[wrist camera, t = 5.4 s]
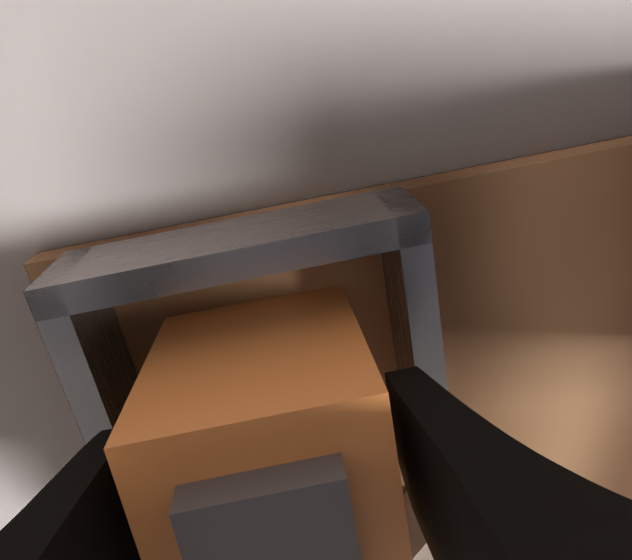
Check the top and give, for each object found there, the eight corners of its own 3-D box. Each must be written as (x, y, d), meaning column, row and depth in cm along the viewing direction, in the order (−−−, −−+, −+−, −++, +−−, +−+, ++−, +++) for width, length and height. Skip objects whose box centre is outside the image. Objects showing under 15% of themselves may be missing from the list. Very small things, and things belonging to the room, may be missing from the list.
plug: (341, 283, 12) (397, 415, 7) (366, 435, 14) (430, 642, 8) (165, 317, 12) (90, 477, 7) (206, 467, 14) (169, 699, 8)
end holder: (400, 185, 12) (429, 211, 10) (432, 454, 14) (460, 518, 12) (64, 251, 12) (23, 291, 10) (160, 511, 14) (143, 586, 12)
